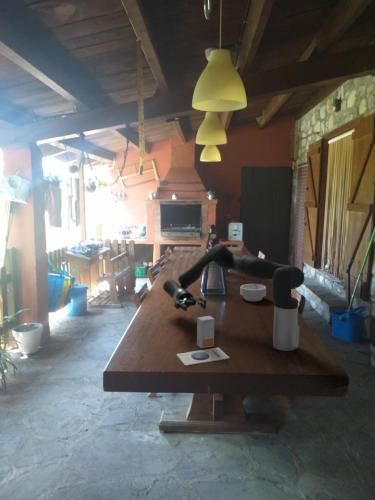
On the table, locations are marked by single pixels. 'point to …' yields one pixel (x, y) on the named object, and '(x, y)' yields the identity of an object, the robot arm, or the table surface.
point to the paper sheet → (202, 356)
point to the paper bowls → (253, 292)
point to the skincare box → (205, 332)
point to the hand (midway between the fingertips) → (195, 307)
